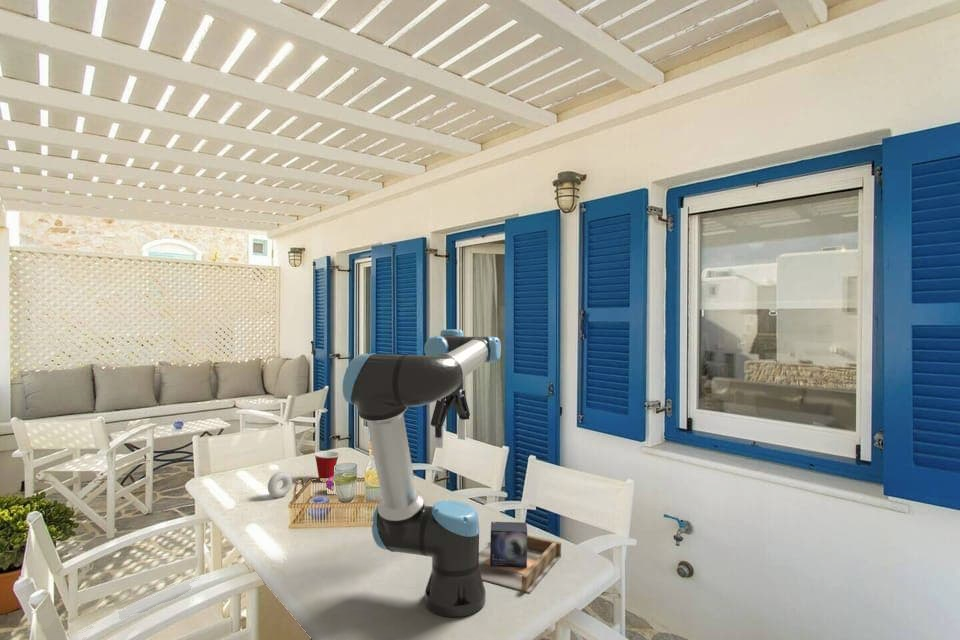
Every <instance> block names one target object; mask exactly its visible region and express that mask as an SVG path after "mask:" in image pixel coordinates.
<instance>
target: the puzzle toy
mask: <svg viewBox="0 0 960 640" xmlns="http://www.w3.org/2000/svg"><path fill="white" fill-rule="evenodd" d="M334 477H335V476H334ZM334 477H330V478H329V479H328V480H327V481H326V482H325V484H326V487H325V488H328V489H330V490H332V491H333V490H334V483H333V482H332V481H331V479H333V478H334Z"/></svg>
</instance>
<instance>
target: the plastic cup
mask: <svg viewBox="0 0 960 640" xmlns="http://www.w3.org/2000/svg"><path fill="white" fill-rule="evenodd" d="M313 454H314V457H315V462H316V468H317V470H316V471H317V474H318V479H319V478H330V477H335V472H334V466H335V465H336V466H337V464H338V463H337V462H338V458H339V457H340V453H339V452H337V451H330V450H329V451H328V450H323V451H317V452H314V453H313Z"/></svg>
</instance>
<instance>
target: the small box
mask: <svg viewBox="0 0 960 640" xmlns="http://www.w3.org/2000/svg"><path fill="white" fill-rule="evenodd" d="M527 524H528V523H527V522H522V521H521V522H518V521H516V522H515V521H513V522H512V521H491V522H490V542H489V544H490V566H502V567H527V535H528V525H527Z"/></svg>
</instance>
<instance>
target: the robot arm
mask: <svg viewBox="0 0 960 640" xmlns="http://www.w3.org/2000/svg"><path fill="white" fill-rule="evenodd" d="M423 350H424V354H425V355H421V354H420V355H419V354H391V353H389V354H388V353H387V354H385V353H384V354H383V353H375V352H373V353H365V354H364V353H363V354H358V355H356V356H355V357H353V358H352V360H351V361H350V362H349V363H348V365H347V367H346V369H345V372H344V374H343V378H342V379H343V380H342V395H343V398H344V400H345V401H346V402H347V403H349V404H351V405H352V406H353V405H356V407H357V408H356V409H357V413H358V417H359V418H360V419H361V420H363V421H366V425H367V429H368V434H369V438H370V440H369V441H370V443H371V450H372V455H373V460H374V464H375V469H376V474H377V480H378V484H379V485H378V486H379V490H380V495H381V496H380V497H381V499H380V501H379V503H378V504H377V506H376V508H375V510H374V512H373V515H372V520H371V521H372V525H371V533H372V537H373V541H374V542H375V545H377V546H378V547H379V548H380V549H382V550H385V551H389V552H391V553H402V554H410V555H416V556H424V557H430V558H431V561H432V563H431V572H430V574H429V578H428V581H427V584H426V588H425V590H424V604H425V606H426V608H427V609H428V610H429V611H430V612H431V613H433V614H436V615H438V616H440V617H447V618H461V617H467V616H470V615H473V614H475V613H478V612H479V611H480V610H482V608H483V607H484V606H485V604H486V588H485V586H484V582H483V580H482V578H481V574H480V571H479V552H480V531H481V529H480V523H479V522H480V519H479V514H478V511H477V510H476V508H474V507H473V506H472V505H470V504H469V503H466V502H464V501H460V500H455V499H449V500H447V499H443V500H439V501H437V502H434V504H433V506H429V505H425V501H424V496H423V494H422V493H421V492H420V491H419V490H417V488H416V482H415V476H414V469H413V464H412V463H413V462H412V457H411V451H410V446H409V441H408V440H409V439H408V435H407V427H406V421H405V415H404V413H406V411H407V409H408V408H409V407H410V408H417V407H422V406H426V405H429V404H431V403H434V402H435V405H434V406H435V407H434V409H433V413H432V417H431V422H430V425H431V426H432V427H434V437H435V439H434V440H435V443H434V445H435V447H434V448H437V449H444V448H445V426H444V423H445V421H446V419H447V416H448V412H449V411H450V410H451V409H452V407H454V410H455V412H456V413H457V415H458V419H457V439H458V440H464V441H465V440H467V420H470V416H471V413H470V408H469V405H468V400H467V398H466V390H465V389H464V379H465V378H466V377H467V376H468V375H470V374H471V373H472V372H474V371H475V370H476V369H477V368H479V367H480V366H481V365H483V364H485V363H489V364H491V363H497V362H499V361H500V359H501V355H502V344H501V340H500V338H498V337H496V336H489V335H487V336H464V332H463V330H462V329H441V330H440V335H434V336H432V337H430V338H429V339H427V340H426V342H425V344H424V348H423ZM463 389H464V390H463Z"/></svg>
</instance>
